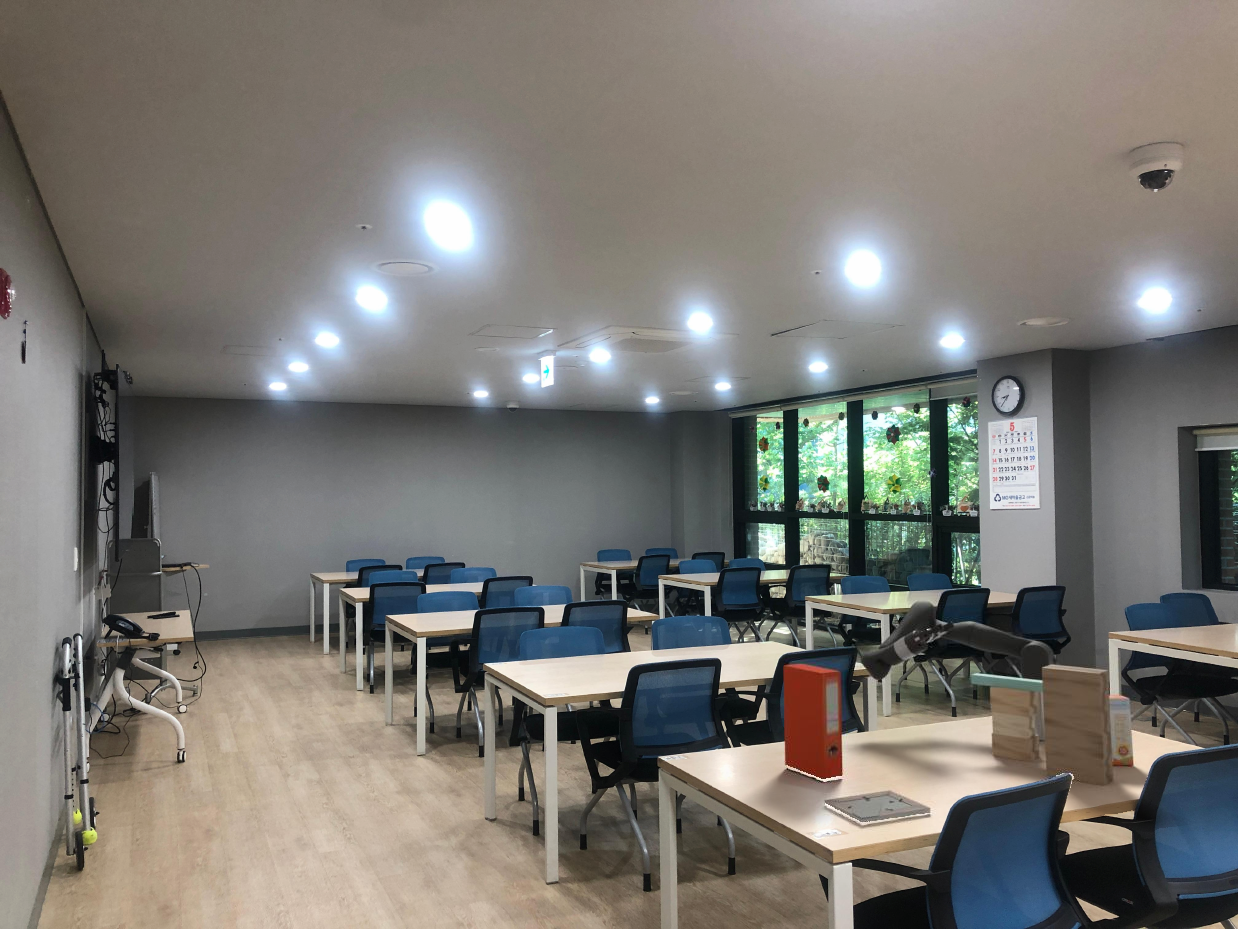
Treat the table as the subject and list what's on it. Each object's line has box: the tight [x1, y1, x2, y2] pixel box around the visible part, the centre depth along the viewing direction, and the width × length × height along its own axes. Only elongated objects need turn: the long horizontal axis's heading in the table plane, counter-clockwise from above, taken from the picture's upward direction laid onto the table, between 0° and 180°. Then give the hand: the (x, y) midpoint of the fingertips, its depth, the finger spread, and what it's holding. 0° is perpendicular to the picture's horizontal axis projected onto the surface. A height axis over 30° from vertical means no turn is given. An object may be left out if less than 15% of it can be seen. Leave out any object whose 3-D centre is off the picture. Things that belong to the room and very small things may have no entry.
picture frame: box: [824, 790, 931, 822], centre depth 235 cm, size 16×2×22 cm
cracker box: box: [1109, 694, 1134, 766], centre depth 278 cm, size 14×6×21 cm, turn 84°
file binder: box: [783, 663, 844, 779], centre depth 271 cm, size 8×17×32 cm, turn 29°
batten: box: [970, 672, 1043, 692], centre depth 289 cm, size 4×26×3 cm, turn 45°
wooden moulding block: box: [1042, 664, 1114, 787], centre depth 264 cm, size 8×16×32 cm, turn 45°
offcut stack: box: [989, 686, 1041, 763], centre depth 288 cm, size 8×12×22 cm
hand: (947, 625), depth 305 cm, fingers open, 8 cm apart
